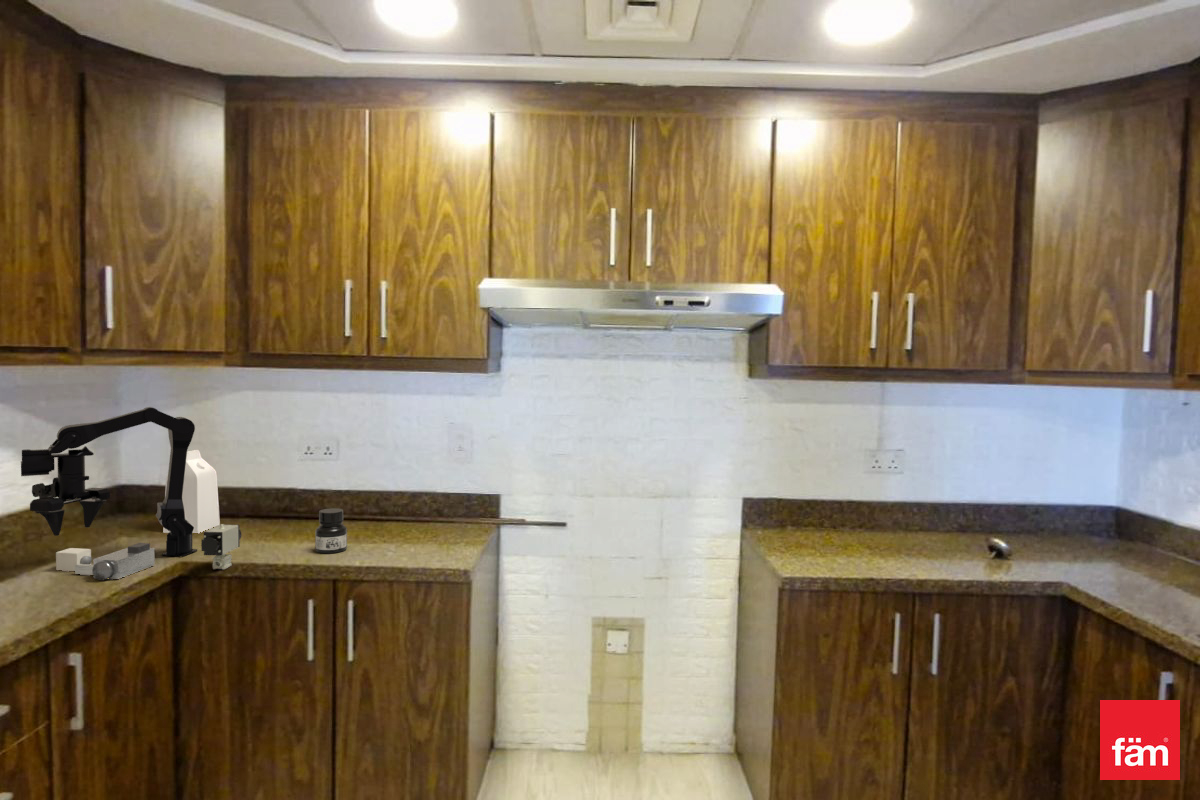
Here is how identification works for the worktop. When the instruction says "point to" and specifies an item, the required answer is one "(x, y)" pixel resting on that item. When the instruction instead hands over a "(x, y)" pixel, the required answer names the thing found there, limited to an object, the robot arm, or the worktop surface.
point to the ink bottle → (331, 532)
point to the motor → (119, 562)
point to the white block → (72, 558)
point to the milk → (199, 493)
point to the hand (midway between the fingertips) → (72, 531)
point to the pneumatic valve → (221, 544)
